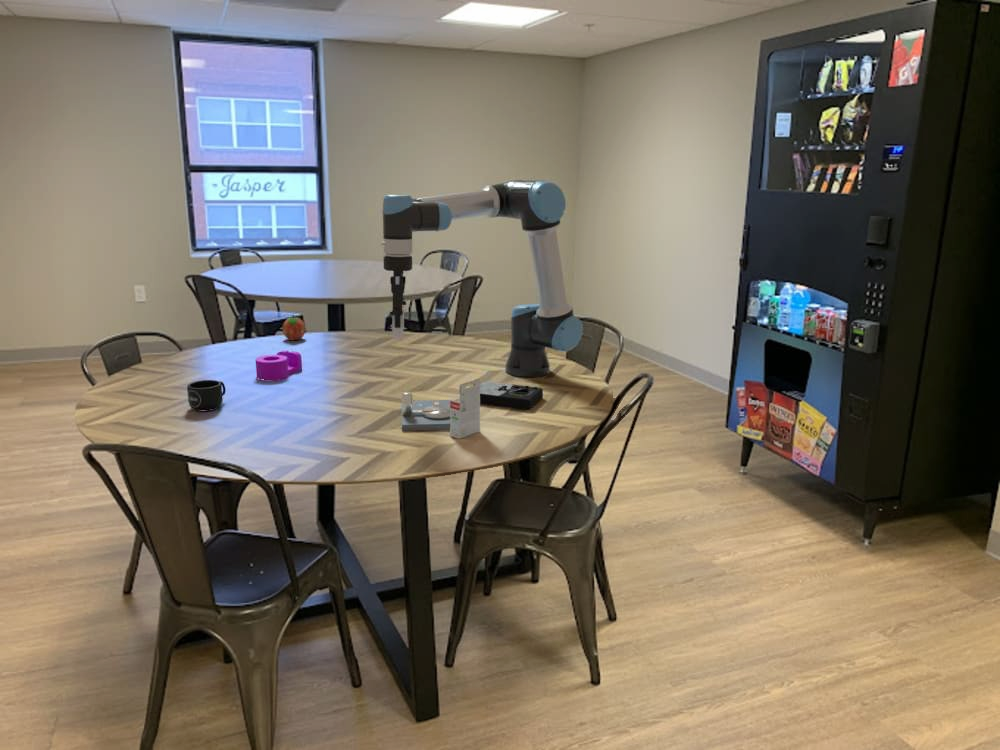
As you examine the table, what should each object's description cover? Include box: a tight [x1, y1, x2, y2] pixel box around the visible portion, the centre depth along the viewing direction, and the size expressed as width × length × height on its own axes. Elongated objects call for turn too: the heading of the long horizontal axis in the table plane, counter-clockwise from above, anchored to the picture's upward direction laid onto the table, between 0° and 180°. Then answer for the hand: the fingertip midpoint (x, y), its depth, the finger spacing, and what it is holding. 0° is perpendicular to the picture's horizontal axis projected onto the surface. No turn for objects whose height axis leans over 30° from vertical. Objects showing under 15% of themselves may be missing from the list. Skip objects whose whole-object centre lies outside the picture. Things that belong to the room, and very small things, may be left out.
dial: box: [401, 391, 450, 420], centre depth 206 cm, size 14×9×6 cm, turn 98°
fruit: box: [282, 314, 306, 341], centre depth 297 cm, size 9×10×10 cm
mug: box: [186, 379, 226, 411], centre depth 214 cm, size 12×9×7 cm
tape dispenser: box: [255, 350, 303, 381], centre depth 248 cm, size 16×10×6 cm, turn 163°
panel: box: [400, 399, 452, 432], centre depth 210 cm, size 20×21×2 cm
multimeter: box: [480, 381, 544, 411], centre depth 225 cm, size 13×19×5 cm
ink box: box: [449, 378, 481, 440], centre depth 195 cm, size 4×8×15 cm, turn 140°
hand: (398, 334), depth 204 cm, fingers open, 13 cm apart
